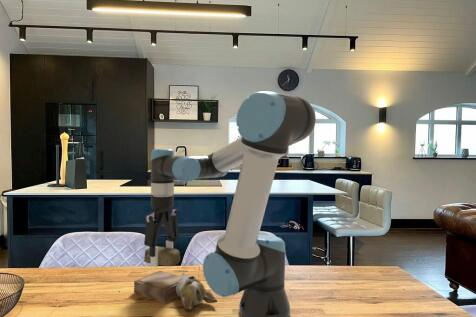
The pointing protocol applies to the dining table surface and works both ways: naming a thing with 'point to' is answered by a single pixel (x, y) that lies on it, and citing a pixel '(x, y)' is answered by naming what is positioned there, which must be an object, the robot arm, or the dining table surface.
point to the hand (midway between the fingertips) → (162, 262)
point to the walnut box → (158, 286)
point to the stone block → (164, 256)
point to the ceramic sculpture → (192, 292)
